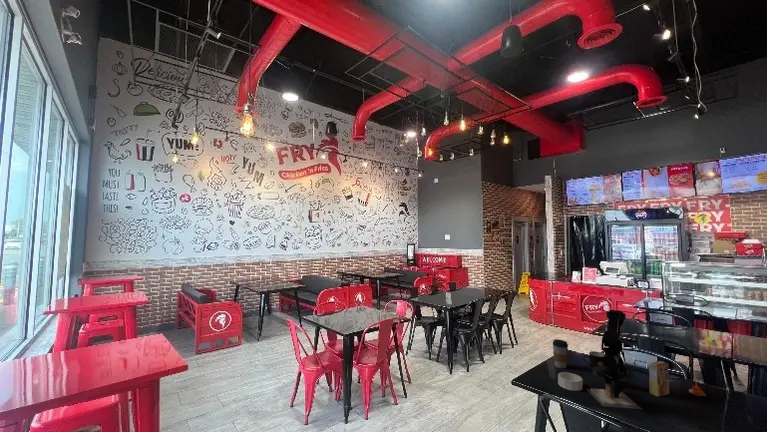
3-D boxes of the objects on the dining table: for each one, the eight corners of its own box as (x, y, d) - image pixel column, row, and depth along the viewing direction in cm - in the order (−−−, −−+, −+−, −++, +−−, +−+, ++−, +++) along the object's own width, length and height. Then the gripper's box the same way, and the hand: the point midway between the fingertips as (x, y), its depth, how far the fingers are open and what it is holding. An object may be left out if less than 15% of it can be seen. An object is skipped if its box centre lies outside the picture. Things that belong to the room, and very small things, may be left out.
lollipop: (691, 398, 165) (690, 373, 165) (687, 390, 173) (687, 367, 173) (708, 401, 161) (707, 376, 162) (703, 393, 169) (702, 369, 170)
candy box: (660, 390, 172) (659, 360, 173) (669, 394, 168) (669, 363, 169) (649, 393, 169) (648, 362, 170) (658, 397, 165) (657, 365, 166)
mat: (621, 392, 170) (621, 391, 170) (642, 410, 153) (642, 409, 153) (585, 389, 172) (585, 388, 172) (602, 407, 155) (602, 405, 155)
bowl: (576, 382, 180) (576, 373, 180) (586, 392, 169) (586, 382, 169) (555, 381, 181) (555, 371, 182) (563, 390, 171) (563, 380, 171)
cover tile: (619, 392, 168) (619, 380, 169) (636, 407, 154) (636, 393, 155) (590, 390, 170) (590, 378, 170) (604, 404, 156) (604, 391, 157)
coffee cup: (570, 369, 196) (570, 344, 197) (555, 368, 198) (554, 343, 199) (565, 364, 205) (565, 339, 205) (551, 363, 206) (550, 338, 207)
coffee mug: (606, 370, 196) (606, 353, 197) (607, 375, 189) (606, 357, 190) (583, 365, 203) (583, 349, 203) (583, 370, 195) (583, 353, 196)
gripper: (585, 353, 173) (585, 384, 173) (603, 368, 155) (604, 402, 154) (608, 355, 172) (609, 385, 171) (630, 370, 153) (630, 404, 153)
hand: (612, 394), depth 162 cm, fingers open, 6 cm apart
